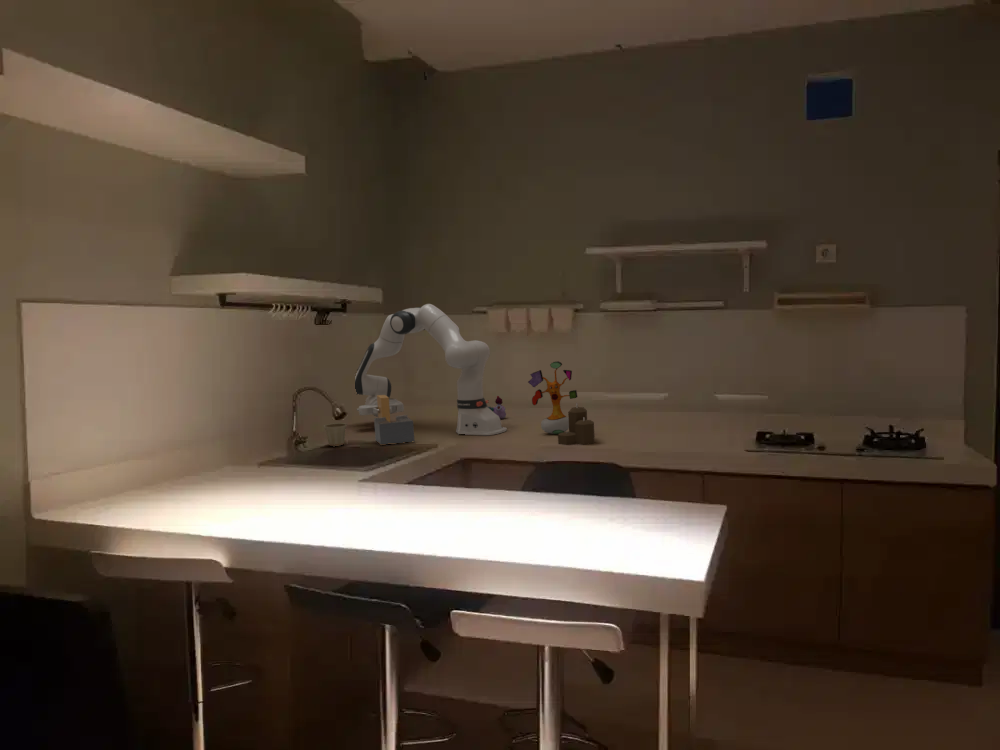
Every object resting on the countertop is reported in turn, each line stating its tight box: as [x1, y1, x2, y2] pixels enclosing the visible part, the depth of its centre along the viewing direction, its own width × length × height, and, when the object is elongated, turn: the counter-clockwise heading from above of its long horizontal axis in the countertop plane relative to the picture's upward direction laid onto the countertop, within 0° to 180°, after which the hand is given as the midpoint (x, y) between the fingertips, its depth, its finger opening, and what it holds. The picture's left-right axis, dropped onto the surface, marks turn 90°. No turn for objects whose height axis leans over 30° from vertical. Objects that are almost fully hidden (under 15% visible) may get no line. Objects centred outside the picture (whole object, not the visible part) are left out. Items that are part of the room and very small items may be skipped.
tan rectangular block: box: [377, 395, 391, 422], centre depth 375 cm, size 10×4×14 cm, turn 18°
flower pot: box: [323, 422, 347, 445], centre depth 348 cm, size 9×9×9 cm
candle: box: [557, 402, 595, 446], centre depth 329 cm, size 14×14×15 cm
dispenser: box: [373, 414, 415, 444], centre depth 349 cm, size 12×14×10 cm
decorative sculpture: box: [527, 360, 578, 435], centre depth 347 cm, size 20×8×30 cm, turn 76°
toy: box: [487, 395, 507, 420], centre depth 394 cm, size 10×15×15 cm
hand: (384, 411), depth 374 cm, fingers closed on tan rectangular block, 3 cm apart
